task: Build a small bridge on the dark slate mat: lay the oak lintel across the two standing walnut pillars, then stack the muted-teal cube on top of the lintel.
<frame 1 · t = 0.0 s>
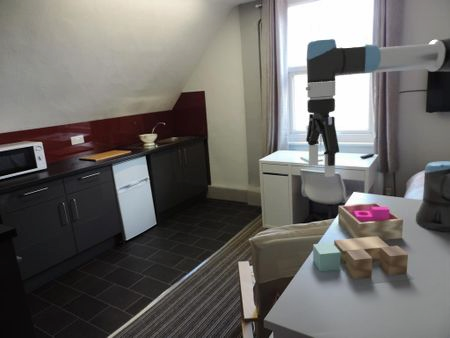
hand: (321, 170, 96), 28 cm above the table, fingers open, 13 cm apart
mat: (375, 272, 91), on the table
cube: (326, 266, 97), on the table
pillar a: (392, 269, 91), resting on mat
lintel: (360, 257, 100), on the table
pillar b: (358, 273, 91), resting on mat
wooden open box: (367, 230, 117), on the table
bracket: (367, 230, 117), resting in wooden open box
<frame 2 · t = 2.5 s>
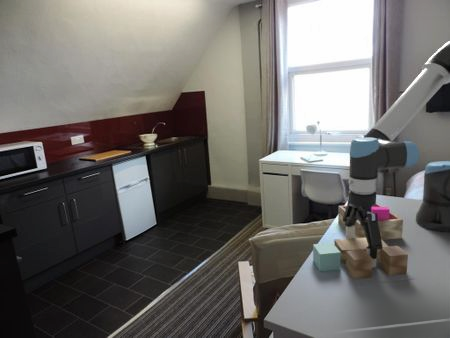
hand: (359, 255, 100), 0 cm above the table, fingers open, 13 cm apart
nothing on the table moved.
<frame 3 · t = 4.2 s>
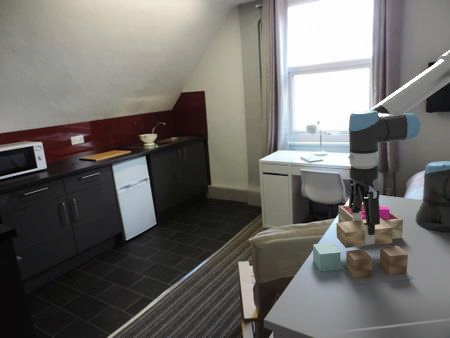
hand: (363, 237, 99), 7 cm above the table, fingers closed on lintel, 7 cm apart
lintel: (363, 239, 99), point 6 cm above the table, touching gripper
everything else where it was.
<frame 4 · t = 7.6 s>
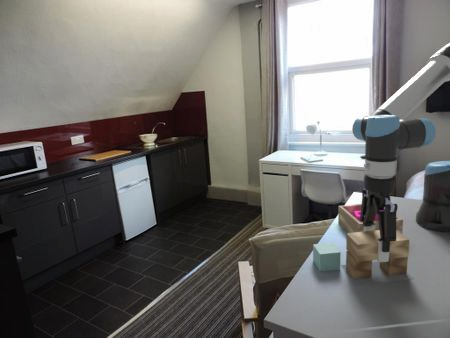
hand: (375, 253, 90), 6 cm above the table, fingers closed on lintel, 7 cm apart
pillar a: (392, 269, 91), resting on mat, touching lintel
lintel: (376, 252, 90), point 6 cm above the table, touching gripper, pillar a, pillar b
pillar b: (358, 273, 91), resting on mat, touching lintel
everything else where it was.
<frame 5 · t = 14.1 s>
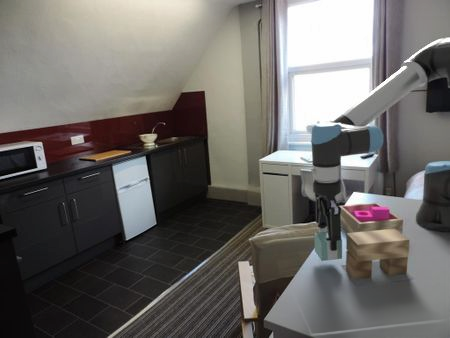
hand: (328, 253, 96), 4 cm above the table, fingers closed on cube, 6 cm apart
cube: (328, 254, 96), point 4 cm above the table, touching gripper
lintel: (376, 252, 90), point 6 cm above the table, touching pillar a, pillar b
everything else where it was.
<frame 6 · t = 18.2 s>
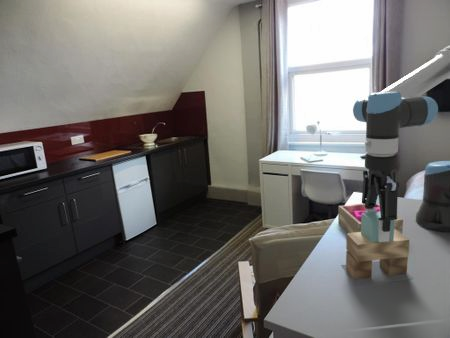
hand: (376, 235, 88), 12 cm above the table, fingers closed on cube, lintel, 6 cm apart
cube: (376, 236, 89), point 11 cm above the table, touching gripper, lintel
lintel: (376, 252, 90), point 6 cm above the table, touching cube, gripper, pillar a, pillar b
everything else where it was.
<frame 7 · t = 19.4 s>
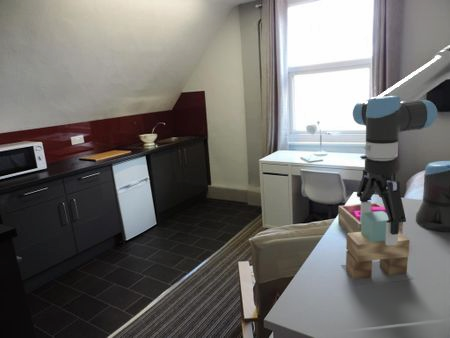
hand: (377, 232, 88), 12 cm above the table, fingers open, 13 cm apart
cube: (376, 236, 88), point 11 cm above the table, touching lintel
lintel: (376, 252, 90), point 6 cm above the table, touching cube, pillar a, pillar b
everything else where it was.
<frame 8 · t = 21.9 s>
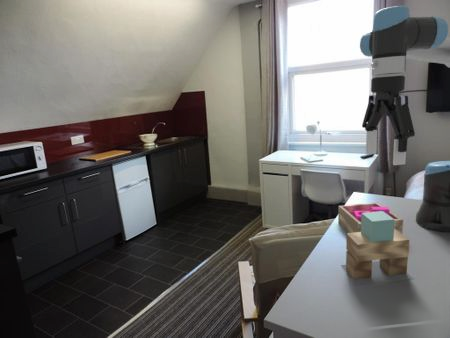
hand: (383, 158, 85), 33 cm above the table, fingers open, 13 cm apart
nothing on the table moved.
at the end: lintel point 6.4 cm above the table; lintel 0.1 cm from the mat (horizontally); cube inside the target area on the lintel (0.1 cm from its centre), point 5.0 cm above the lintel's base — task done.
